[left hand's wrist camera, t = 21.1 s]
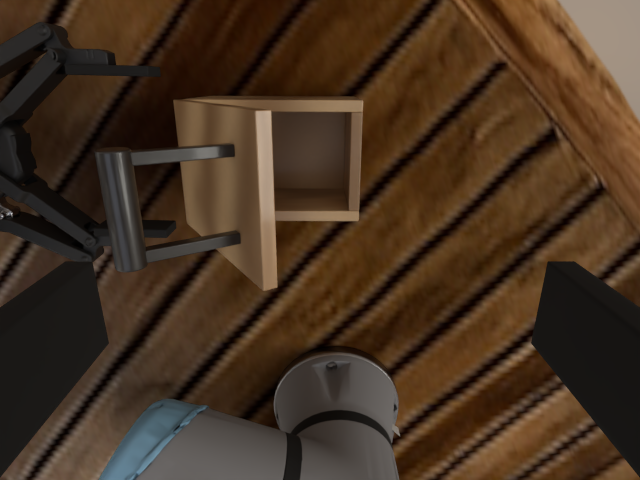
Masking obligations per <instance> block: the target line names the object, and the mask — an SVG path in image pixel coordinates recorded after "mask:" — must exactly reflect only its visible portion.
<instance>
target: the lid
mask: <svg viewBox="0 0 640 480" xmlns="http://www.w3.org/2000/svg"><path fill="white" fill-rule="evenodd" d="M174 110H175V119H176V128H177V137H178V146H179V147H168V148H155V149H141V150H131V149H130V148H126V147H109V148H101V149H97V150H95V152H94V153H95V159H96V164H97V170H98V175H99V181H100V186H101V192H102V197H103V203H104V208H105V214H106V219H107V225H108V231H109V236H110V242H111V247H112V253H113V258H114V264H115V268H116V270H117V271H120V272H134V271H138V270H141V269H143V268H145V267H146V266H147V265H148V263H149V262H154V261H159V260H164V259H169V258H174V257H179V256H184V255H189V254H193V253H198V252H203V251H208V250H213V249H217V250H218V251H219V252H220V253H221V254H222V255H223V256H225V257H226V258H227V259H228V260H229V261H230V262H231V263H232V264H234V265H235V266H236V267H237V268H238V269H239V270H240V271H241V272H243V273H244V274H245V275H246V276H247V277H248V278H249V279H250V280H252V281H253V282H254V283H255V284H256V285H257V286H258V287H259V288H261V289H262V290H263V291H266V290H270V289H273V288H277V260H276V232H275V203H274V174H273V145H272V116H271V110H269V109H261V108H252V107H244V106H235V105H227V104H218V103H210V102H201V101H193V100H174ZM173 162H180V164H181V173H182V182H183V191H184V200H185V209H186V218H187V224H189V225H190V226H191V227H192V228H193V229H194V230H195V231H196V232H198V233H199V234H200V235H201V236H202V237H196V238H191V239H185V240H180V241H175V242H169V243H164V244H158V245H153V246H148V247H146V246H145V239H144V232H143V226H142V219H141V212H140V206H139V199H138V192H137V186H136V179H135V172H134V166H140V165H151V164H162V163H173Z"/></svg>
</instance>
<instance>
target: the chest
mask: <svg viewBox="0 0 640 480" xmlns="http://www.w3.org/2000/svg"><path fill="white" fill-rule="evenodd" d="M182 100H193V101H201V102H210V103H218V104H227V105H235V106H244V107H252V108H261V109H269V110H271V116H272V145H273V174H274V203H275V221H359V197H360V171H361V144H362V118H363V113H362V112H363V100H361V99H358V98H356V97H353V96H205V97H197V98H189V99H182Z"/></svg>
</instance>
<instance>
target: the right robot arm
mask: <svg viewBox="0 0 640 480" xmlns="http://www.w3.org/2000/svg"><path fill="white" fill-rule="evenodd" d="M67 37H68V34H67V31H66V30H65V29H64V28H63V27H61V26H57V25H52V24H48V23H43V22H39V23H36V24H35V25H33V26H31V27H30V28H28V29H26V30H25V31H23V32H21V33H19V34H18V35H16V36H14V37H13V38H11V39H9V40H8V41H6V42H4V43H3V44H1V45H0V78H2V77H4V76H6V75H8V74H9V73H11V72H13V71H15V70H16V69H18V68H20V67H21V66H23V65H25V64H27V63H28V62H30V61H32V60H34V59H35V58H37V57H39V56H40V55H42V54H44V53H46V54H45V55H44V56H43V57H42V58H41V59H40V60H39V61H38V62H37V64H36V65H35V66H34V67H33V68H32V69H31V70H30V71H29V72H28V73H27V74H26V76H25V77H24V78H23V79H22V80H21V81H20V82H19V83H18V84H17V85H16V86H15V87H14V89H13V90H12V91H11V92H10V93H9V94H8V95H7V96H6V97H5V98H4V99H3V101H1V102H0V231H3V232H9V233H12V234H14V235H16V236H19V237H21V238H23V239H25V240H28V241H30V242H32V243H35V244H37V245H39V246H41V247H44V248H46V249H48V250H51V251H53V252H55V253H58V254H60V255H62V256H64V257H67V258H69V259H71V260H74V261H76V262H93V261H95V260H96V259H97V258H98V257H100V256H101V255H102V254H103V253H104V249H103V246H111V242H110V236H109V231H108V225H107V220H105V221H104V222H102V223H101V224H98V223H97V222H96V221H94V220H93V219H92V218H90V217H89V216H87V215H86V214H85V213H83V212H82V211H81V210H79V209H78V208H76V207H75V206H74V205H72V204H71V203H69V202H68V201H67V200H65V199H64V198H63V197H61V196H60V195H58V194H57V193H56V192H54V191H53V190H51V189H50V188H49V187H48V186H47V183H46V182H45V181H44V180H43V179H41V178H40V177H38V176H37V175H36V174H34V173H33V172H34V169H35V168H37V166H36V161H35V158H34V156H33V154H32V152H31V138H30V133H26V131H25V130H24V128H23V127H22V125H23V124H24V123H25V122H26V121H27V120H28V119H29V118H30V117H31V116H32V115H33V113H32V112H33V111H34V109H35V108H36V107H37V106H38V105H39V104H40V103H41V102H42V101H43V100H44V99H45V98H46V97H47V96H48V95H49V94H50V93H51V92H52V91H53V90H54V88H55V87H56V86H57V85H58V84H59V83H60V82H61V81H62V80H63V79H64V78H65V77H66V76H67V75H107V76H152V77H161V76H160V67H152V66H122V65H116V61H115V54H114V53H112V52H110V51H107V50H100V49H75V48H73V47H72V46H71V45H70V43H69V41H68V39H67ZM23 183H24V184H25V186H21V185H22V184H23ZM7 196H9V197H11V198H12V199H13V200H15V201H17V202H21V203H25V204H26V205H28V206H29V207H31V208H32V209H34V210H35V211H36V212H38V213H39V214H41V215H42V216H44V217H45V218H46V219H48V220H49V221H51V222H52V223H53V224H52V223H50V222H48V221H46V220H43V219H41V218H39V217H37V216H34V215H32V214H29V213H26V212H21V211H20V208H19V207H18V206H13V205H10V204H9V203H8V202H7V201H6V199H5V197H7ZM142 226H143V232H144V237H153V238H167V237H168V236H169V235H170V234H171V233H172V232H173V231H174V230H175V229H176V221H167V220H142Z"/></svg>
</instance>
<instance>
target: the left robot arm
mask: <svg viewBox="0 0 640 480" xmlns="http://www.w3.org/2000/svg"><path fill="white" fill-rule="evenodd" d="M108 344H109V342H108V337H107V332H106V327H105V322H104V317H103V312H102V307H101V302H100V298H99V293H98V288H97V283H96V278H95V273H94V268H93V263H92V262H64V263H63V264H61V265H60V266H59V267H57V268H56V269H54V270H53V271H51V272H50V273H49V274H47V275H46V276H44V277H43V278H42V279H40V280H39V281H37V282H36V283H34V284H33V285H32V286H30V287H29V288H27V289H26V290H24V291H23V292H22V293H20V294H19V295H17V296H16V297H15V298H13V299H12V300H10V301H9V302H7V303H6V304H5V305H3V306H2V307H0V477H1V476H2V474H3V473H4V472H5V471H6V470H7V468H8V467H9V466H10V465H11V463H12V462H13V461H14V460H15V458H16V457H17V456H18V455H19V453H20V452H21V451H22V450H23V449H24V447H25V446H26V445H27V444H28V442H29V441H30V440H31V439H32V437H33V436H34V435H35V434H36V432H37V431H38V430H39V429H40V428H41V426H42V425H43V424H44V423H45V421H46V420H47V419H48V418H49V416H50V415H51V414H52V413H53V411H54V410H55V409H56V408H57V407H58V405H59V404H60V403H61V402H62V400H63V399H64V398H65V397H66V395H67V394H68V393H69V392H70V390H71V389H72V388H73V387H74V386H75V384H76V383H77V382H78V381H79V379H80V378H81V377H82V376H83V374H84V373H85V372H86V371H87V369H88V368H89V367H90V366H91V365H92V363H93V362H94V361H95V360H96V358H97V357H98V356H99V355H100V353H101V352H102V351H103V350H104V348H105V347H106V346H107V345H108ZM531 344H532V345H533V346H534V347H535V348H536V350H537V351H538V352H539V353H540V355H541V356H542V357H543V358H544V360H545V361H546V362H547V363H548V365H549V366H550V367H551V368H552V369H553V371H554V372H555V373H556V374H557V376H558V377H559V378H560V379H561V381H562V382H563V383H564V384H565V386H566V387H567V388H568V389H569V390H570V392H571V393H572V394H573V395H574V397H575V398H576V399H577V400H578V402H579V403H580V404H581V405H582V407H583V408H584V409H585V410H586V411H587V413H588V414H589V415H590V416H591V418H592V419H593V420H594V421H595V423H596V424H597V425H598V426H599V428H600V429H601V430H602V431H603V432H604V434H605V435H606V436H607V437H608V439H609V440H610V441H611V442H612V444H613V445H614V446H615V447H616V449H617V450H618V451H619V452H620V453H621V455H622V456H623V457H624V458H625V460H626V461H627V462H628V463H629V465H630V466H631V467H632V468H633V470H634V471H635V472H636V473H637V474H638V476H639V477H640V307H638V306H637V305H635V304H634V303H633V302H631V301H630V300H628V299H627V298H625V297H624V296H623V295H621V294H620V293H618V292H617V291H615V290H614V289H613V288H611V287H610V286H608V285H607V284H606V283H604V282H603V281H601V280H600V279H598V278H597V277H596V276H594V275H593V274H591V273H590V272H589V271H587V270H586V269H584V268H583V267H581V266H580V265H579V264H577V263H576V262H548V263H547V268H546V273H545V278H544V283H543V288H542V293H541V298H540V302H539V307H538V312H537V317H536V322H535V327H534V332H533V337H532V342H531ZM274 412H275V417H276V420H277V423H278V426H279V428H280V430H278V429H275V428H271V427H268V426H265V425H262V424H258V423H255V422H252V421H248V420H245V419H242V418H239V417H235V416H232V415H229V414H225V413H222V412H219V411H216V410H213V409H210V408H209V406H207V405H195V404H191V403H187V402H183V401H178V400H175V399H162V400H159V401H157V402H155V403H153V404H152V405H151V406H149V407H148V408H147V409H146V410H145V411H144V412H143V413H142V414H141V416H140V417H139V418H138V419H137V420H136V422H135V423H134V424H133V426H132V427H131V428H130V430H129V431H128V433H127V434H126V436H125V437H124V439H123V440H122V442H121V443H120V445H119V446H118V448H117V449H116V451H115V453H114V454H113V456H112V457H111V459H110V461H109V462H108V464H107V466H106V468H105V469H104V471H103V473H102V474H101V476H100V478H99V480H399V477H398V472H397V467H396V462H395V457H394V453H393V448H392V439H393V434H394V432H395V433H397V434H398V435H399V436H400V434H399V429H398V427H396V426H395V422H396V419H397V414H398V395H397V391H396V387H395V383H394V381H393V378H392V376H391V374H390V373H389V371H388V370H387V368H386V367H385V366H384V365H383V364H382V363H381V362H380V361H378V360H377V359H376V358H374V357H373V356H371V355H369V354H367V353H365V352H363V351H360V350H357V349H353V348H348V347H325V348H320V349H316V350H313V351H310V352H308V353H306V354H304V355H302V356H300V357H298V358H297V359H295V360H294V361H293V362H292V363H291V364H290V365H289V366H288V367H287V368H286V369H285V370H284V371H283V373H282V374H281V376H280V378H279V380H278V383H277V386H276V392H275V399H274Z"/></svg>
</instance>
